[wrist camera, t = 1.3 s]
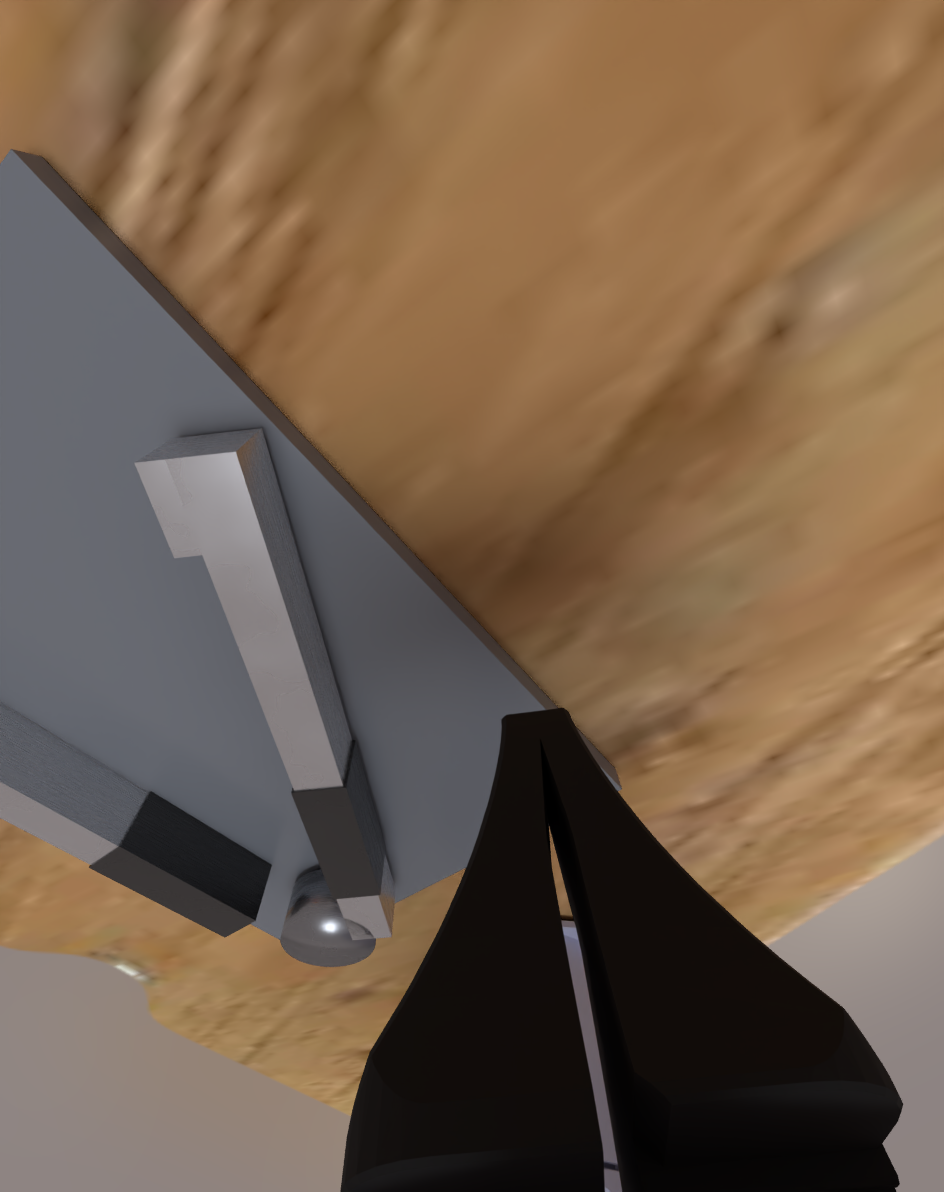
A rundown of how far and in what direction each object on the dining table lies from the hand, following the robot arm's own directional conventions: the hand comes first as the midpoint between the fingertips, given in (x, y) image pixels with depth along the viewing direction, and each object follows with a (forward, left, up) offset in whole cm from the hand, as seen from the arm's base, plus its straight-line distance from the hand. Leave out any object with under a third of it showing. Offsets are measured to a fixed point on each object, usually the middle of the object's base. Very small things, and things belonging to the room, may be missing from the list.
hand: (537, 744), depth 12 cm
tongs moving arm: (-7, +6, -6) cm, 11 cm away
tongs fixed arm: (-9, +14, -6) cm, 18 cm away
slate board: (-6, +9, -7) cm, 13 cm away
